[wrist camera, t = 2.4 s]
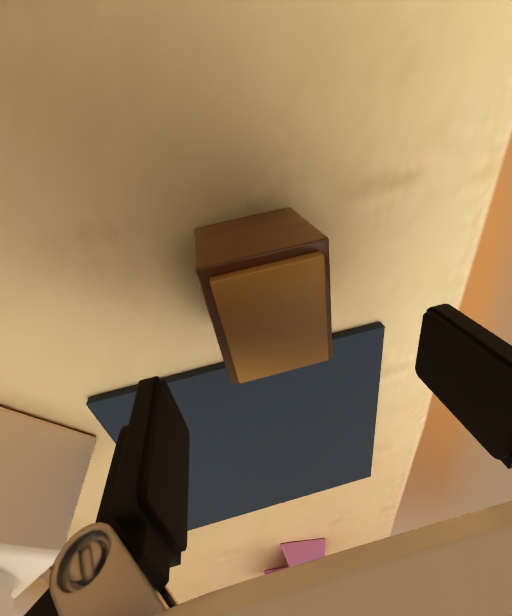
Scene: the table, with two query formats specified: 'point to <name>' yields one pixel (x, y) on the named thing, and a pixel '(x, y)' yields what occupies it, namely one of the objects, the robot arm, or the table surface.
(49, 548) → the medicine bottle
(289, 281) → the brown block
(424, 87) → the table surface
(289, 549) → the toy chair
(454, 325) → the robot arm
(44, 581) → the flower vase
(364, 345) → the desk pad
